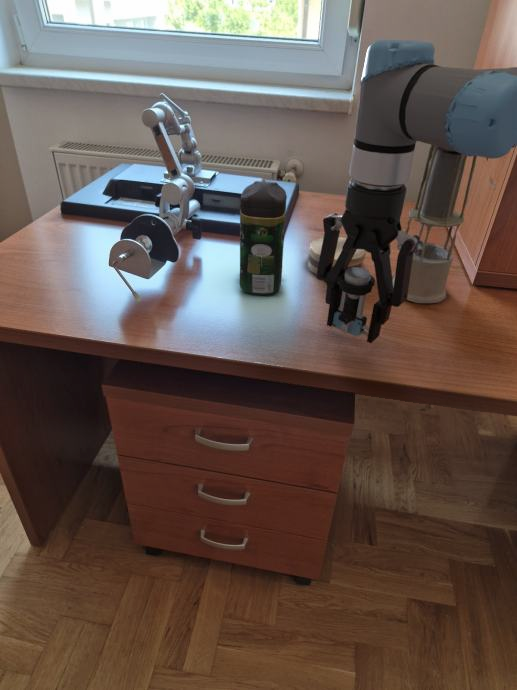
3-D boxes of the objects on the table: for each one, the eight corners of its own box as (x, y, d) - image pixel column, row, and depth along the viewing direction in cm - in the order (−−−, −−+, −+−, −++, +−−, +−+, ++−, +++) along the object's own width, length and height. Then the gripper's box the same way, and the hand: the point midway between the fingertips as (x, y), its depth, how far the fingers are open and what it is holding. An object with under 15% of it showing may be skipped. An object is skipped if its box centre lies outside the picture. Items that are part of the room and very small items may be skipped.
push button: (378, 331, 75) (390, 274, 69) (362, 346, 72) (375, 288, 66) (340, 316, 78) (350, 261, 72) (324, 330, 75) (333, 273, 69)
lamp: (387, 275, 95) (423, 111, 78) (453, 281, 94) (505, 116, 77) (393, 301, 87) (434, 124, 69) (466, 307, 86) (527, 129, 68)
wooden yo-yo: (372, 266, 98) (376, 246, 96) (345, 286, 91) (348, 265, 88) (325, 250, 104) (327, 230, 101) (295, 268, 96) (297, 247, 94)
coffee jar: (242, 271, 94) (244, 176, 83) (282, 274, 94) (289, 179, 83) (235, 295, 86) (236, 194, 76) (279, 299, 86) (286, 197, 75)
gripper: (462, 190, 59) (420, 342, 72) (328, 162, 69) (313, 301, 82) (439, 205, 54) (399, 365, 68) (299, 172, 64) (288, 318, 77)
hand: (352, 330), depth 75 cm, fingers closed on push button, 6 cm apart
